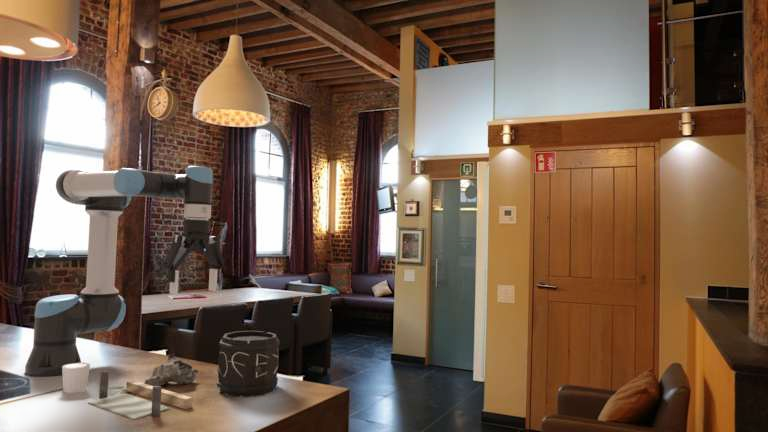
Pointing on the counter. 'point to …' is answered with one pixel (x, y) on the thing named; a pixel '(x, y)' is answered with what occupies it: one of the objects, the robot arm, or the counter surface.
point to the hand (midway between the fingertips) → (193, 292)
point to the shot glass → (75, 377)
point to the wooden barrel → (248, 363)
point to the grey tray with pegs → (138, 399)
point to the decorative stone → (172, 373)
